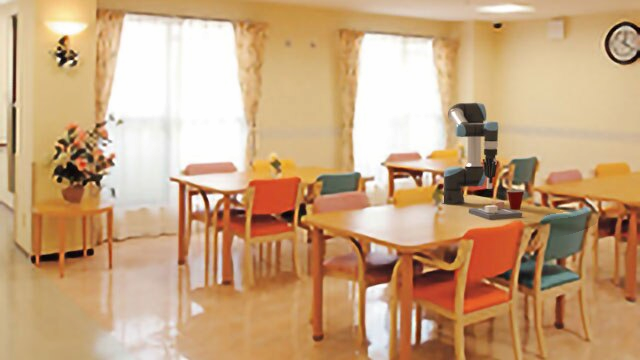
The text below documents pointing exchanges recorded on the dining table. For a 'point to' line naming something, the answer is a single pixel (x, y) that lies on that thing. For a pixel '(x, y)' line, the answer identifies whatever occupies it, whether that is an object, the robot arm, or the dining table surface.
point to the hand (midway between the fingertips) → (489, 188)
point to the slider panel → (500, 214)
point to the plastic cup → (515, 198)
